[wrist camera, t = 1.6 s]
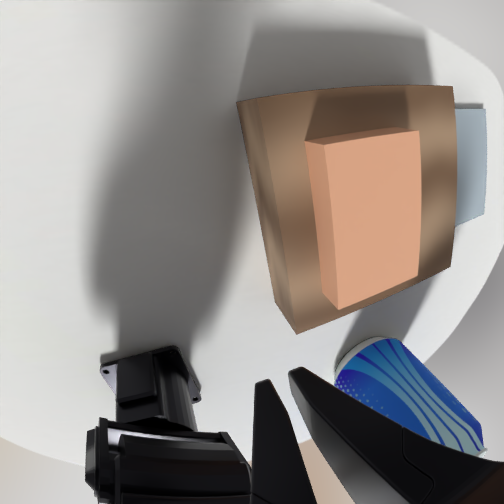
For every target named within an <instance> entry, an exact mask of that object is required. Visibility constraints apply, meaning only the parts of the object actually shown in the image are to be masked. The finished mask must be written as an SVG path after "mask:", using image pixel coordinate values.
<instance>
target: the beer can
mask: <svg viewBox="0 0 504 504" xmlns="http://www.w3.org/2000/svg"><path fill="white" fill-rule="evenodd" d="M334 386H335V387H337V388H338V389H340V390H341V391H343V392H345V393H346V394H348V395H350V396H352V397H353V398H355V399H357V400H358V401H360V402H362V403H363V404H365V405H367V406H369V407H370V408H372V409H374V410H375V411H377V412H379V413H381V414H383V415H384V416H386V417H388V418H390V419H391V420H393V421H395V422H397V423H399V424H400V425H402V427H406V428H408V429H410V430H412V431H413V432H415V433H417V434H419V435H421V436H423V437H425V438H428V439H430V440H432V441H434V442H437V443H439V444H442V445H445V446H447V447H450V448H453V449H456V450H459V451H462V452H465V453H468V454H471V455H474V456H477V457H480V458H482V457H483V456H484V455H485V454H486V452H487V448H484V446H483V437H482V429H481V425H480V423H479V422H478V421H477V420H476V419H475V418H474V417H473V416H472V414H471V413H470V412H468V410H467V409H466V408H465V407H464V406H463V405H462V404H461V403H460V402H459V401H458V400H457V399H456V398H455V397H454V395H453V394H452V393H451V392H450V391H449V390H448V389H447V388H446V387H445V386H444V385H443V384H442V383H441V382H440V381H439V380H438V379H437V378H436V377H435V376H434V375H433V374H432V373H431V372H430V371H429V370H428V369H427V368H426V367H425V366H424V365H423V364H422V363H421V362H420V361H419V360H418V359H417V358H416V357H415V356H414V355H413V354H412V353H411V352H410V351H409V350H408V349H407V348H406V347H405V346H404V345H403V344H402V343H401V342H400V341H399V340H397V339H395V338H384V337H374V338H370V339H368V340H365V341H363V342H361V343H360V344H358V345H357V346H355V347H354V348H353V349H352V350H350V351H349V352H348V353H347V354H346V355H345V357H344V358H343V359H342V360H341V362H340V363H339V365H338V367H337V369H336V372H335V382H334Z"/></svg>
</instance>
